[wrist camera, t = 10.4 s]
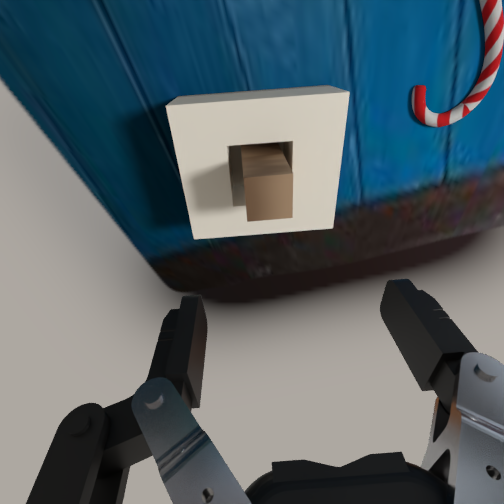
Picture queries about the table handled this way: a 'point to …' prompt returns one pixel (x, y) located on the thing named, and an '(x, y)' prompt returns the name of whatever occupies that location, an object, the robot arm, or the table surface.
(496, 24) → the candy cane
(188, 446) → the robot arm
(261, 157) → the peg
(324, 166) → the socket block
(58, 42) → the table surface
